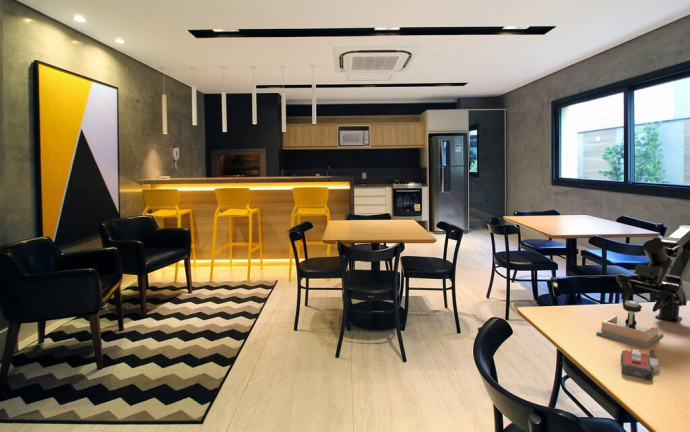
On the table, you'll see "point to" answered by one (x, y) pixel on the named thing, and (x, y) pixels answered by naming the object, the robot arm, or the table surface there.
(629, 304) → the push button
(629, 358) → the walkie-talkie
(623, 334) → the end holder
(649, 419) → the table surface
